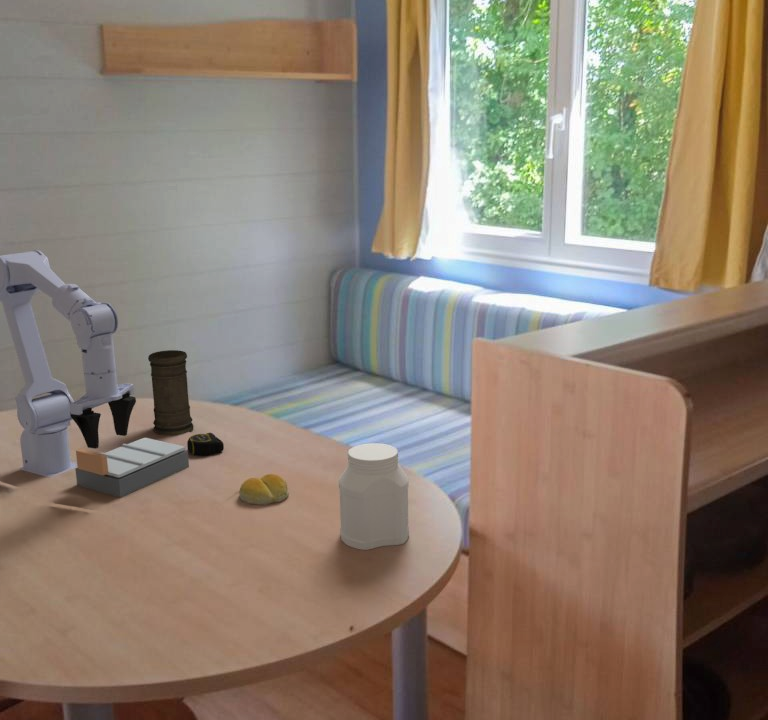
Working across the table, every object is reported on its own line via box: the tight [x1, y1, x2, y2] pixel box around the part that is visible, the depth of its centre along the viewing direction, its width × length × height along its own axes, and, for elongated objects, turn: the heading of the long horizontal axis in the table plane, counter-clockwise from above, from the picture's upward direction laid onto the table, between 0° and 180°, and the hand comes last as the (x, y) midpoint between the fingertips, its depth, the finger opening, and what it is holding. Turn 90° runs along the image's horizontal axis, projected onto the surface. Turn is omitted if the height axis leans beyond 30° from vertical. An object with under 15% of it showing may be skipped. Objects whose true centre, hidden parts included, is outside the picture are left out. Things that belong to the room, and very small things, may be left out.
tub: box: [74, 449, 190, 498], centre depth 184 cm, size 12×18×4 cm, turn 148°
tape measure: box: [186, 432, 225, 457], centre depth 197 cm, size 7×7×4 cm
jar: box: [338, 442, 410, 551], centre depth 155 cm, size 12×10×15 cm
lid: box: [75, 437, 186, 478], centre depth 182 cm, size 11×19×4 cm, turn 148°
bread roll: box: [238, 473, 290, 506], centre depth 174 cm, size 8×9×4 cm
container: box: [147, 349, 195, 436], centre depth 210 cm, size 9×9×18 cm
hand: (107, 441), depth 174 cm, fingers open, 7 cm apart
